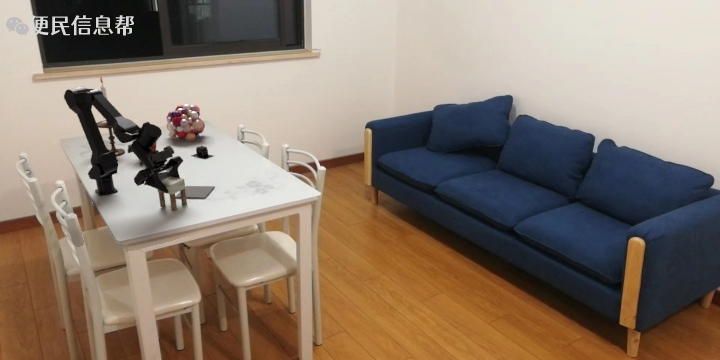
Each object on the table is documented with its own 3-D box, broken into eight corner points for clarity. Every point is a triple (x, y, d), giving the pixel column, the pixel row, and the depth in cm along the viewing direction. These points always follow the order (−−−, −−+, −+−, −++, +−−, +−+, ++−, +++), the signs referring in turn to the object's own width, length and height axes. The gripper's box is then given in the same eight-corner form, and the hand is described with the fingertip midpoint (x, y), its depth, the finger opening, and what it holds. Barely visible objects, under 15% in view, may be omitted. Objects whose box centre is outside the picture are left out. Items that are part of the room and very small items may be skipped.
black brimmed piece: (218, 157, 250) (217, 147, 248) (206, 161, 244) (205, 151, 243) (198, 152, 256) (197, 143, 254) (186, 157, 250) (185, 147, 249)
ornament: (213, 137, 284) (198, 100, 284) (204, 133, 265) (188, 94, 264) (179, 150, 283) (164, 113, 283) (168, 147, 264) (152, 108, 263)
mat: (175, 198, 204) (175, 196, 203) (186, 187, 214) (186, 185, 214) (205, 198, 203) (205, 197, 203) (214, 187, 213) (214, 186, 213)
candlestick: (121, 157, 249) (107, 78, 237) (97, 157, 250) (82, 78, 238) (131, 149, 260) (118, 73, 247) (107, 150, 260) (94, 74, 248)
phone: (159, 185, 214) (151, 174, 226) (160, 188, 214) (152, 176, 226) (180, 181, 217) (171, 170, 230) (180, 184, 218) (171, 173, 230)
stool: (160, 207, 195) (156, 182, 192) (173, 201, 201) (170, 176, 197) (174, 210, 193) (170, 184, 189) (187, 204, 198) (184, 178, 195)
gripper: (134, 148, 182) (165, 184, 182) (175, 133, 198) (203, 167, 197) (121, 167, 188) (150, 203, 188) (162, 152, 204) (189, 185, 203)
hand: (174, 189), depth 194 cm, fingers closed on stool, 6 cm apart
